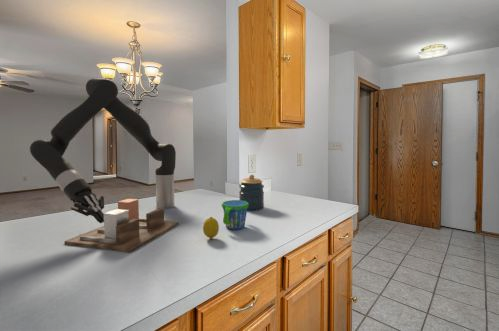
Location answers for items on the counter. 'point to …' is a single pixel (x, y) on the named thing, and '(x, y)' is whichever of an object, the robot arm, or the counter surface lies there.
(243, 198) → the canister
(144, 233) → the board
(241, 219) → the snack cup
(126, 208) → the terracotta slider
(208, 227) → the lemon
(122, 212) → the steel slider
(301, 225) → the counter surface
